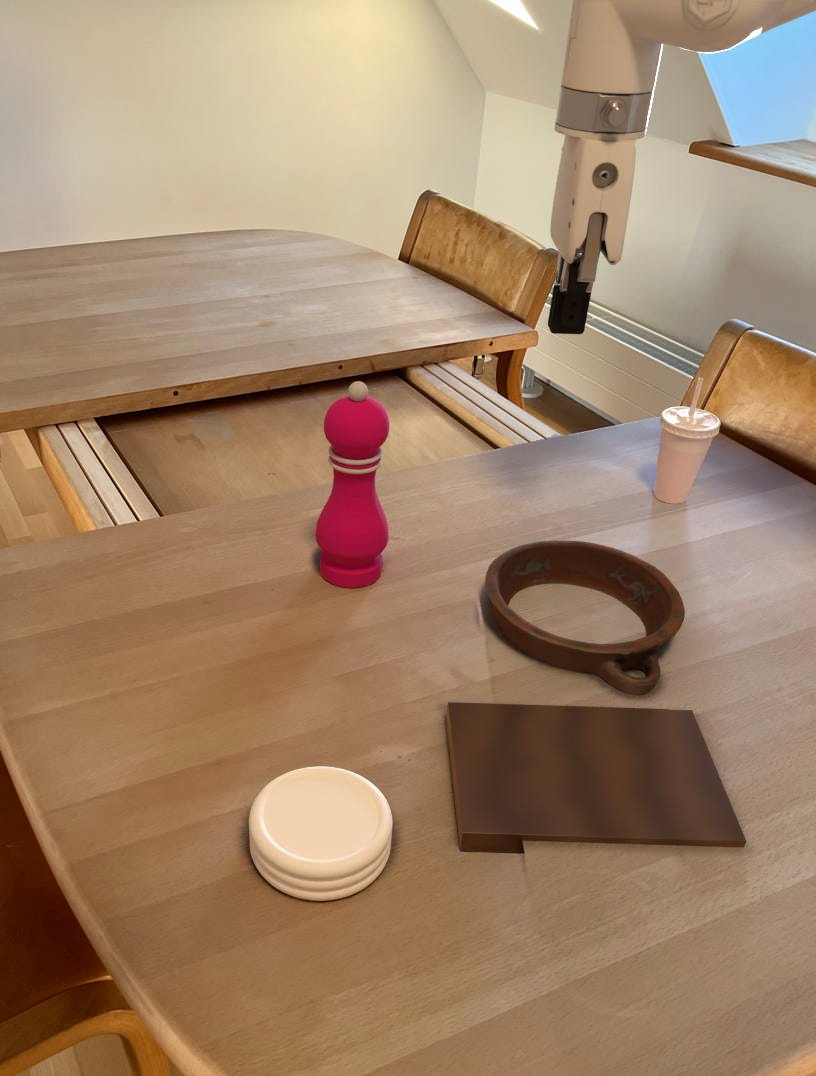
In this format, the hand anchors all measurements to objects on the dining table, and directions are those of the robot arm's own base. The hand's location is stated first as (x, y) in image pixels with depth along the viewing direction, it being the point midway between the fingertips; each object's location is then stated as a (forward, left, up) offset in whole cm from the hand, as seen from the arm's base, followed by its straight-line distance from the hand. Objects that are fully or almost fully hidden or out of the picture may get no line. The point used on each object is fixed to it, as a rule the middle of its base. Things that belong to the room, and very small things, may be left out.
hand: (565, 330), depth 92 cm
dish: (-1, +18, -22) cm, 29 cm away
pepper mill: (+20, +9, -22) cm, 31 cm away
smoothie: (-17, -9, -22) cm, 30 cm away
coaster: (+22, +45, -22) cm, 55 cm away
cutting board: (+2, +38, -22) cm, 44 cm away
